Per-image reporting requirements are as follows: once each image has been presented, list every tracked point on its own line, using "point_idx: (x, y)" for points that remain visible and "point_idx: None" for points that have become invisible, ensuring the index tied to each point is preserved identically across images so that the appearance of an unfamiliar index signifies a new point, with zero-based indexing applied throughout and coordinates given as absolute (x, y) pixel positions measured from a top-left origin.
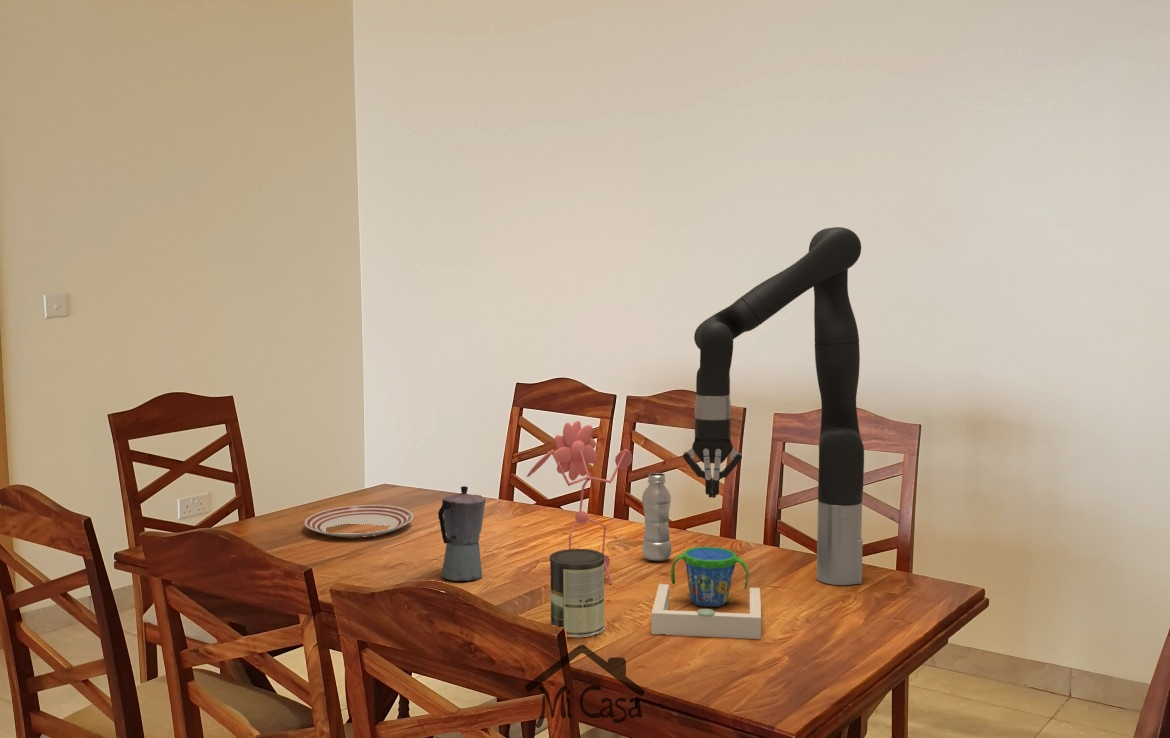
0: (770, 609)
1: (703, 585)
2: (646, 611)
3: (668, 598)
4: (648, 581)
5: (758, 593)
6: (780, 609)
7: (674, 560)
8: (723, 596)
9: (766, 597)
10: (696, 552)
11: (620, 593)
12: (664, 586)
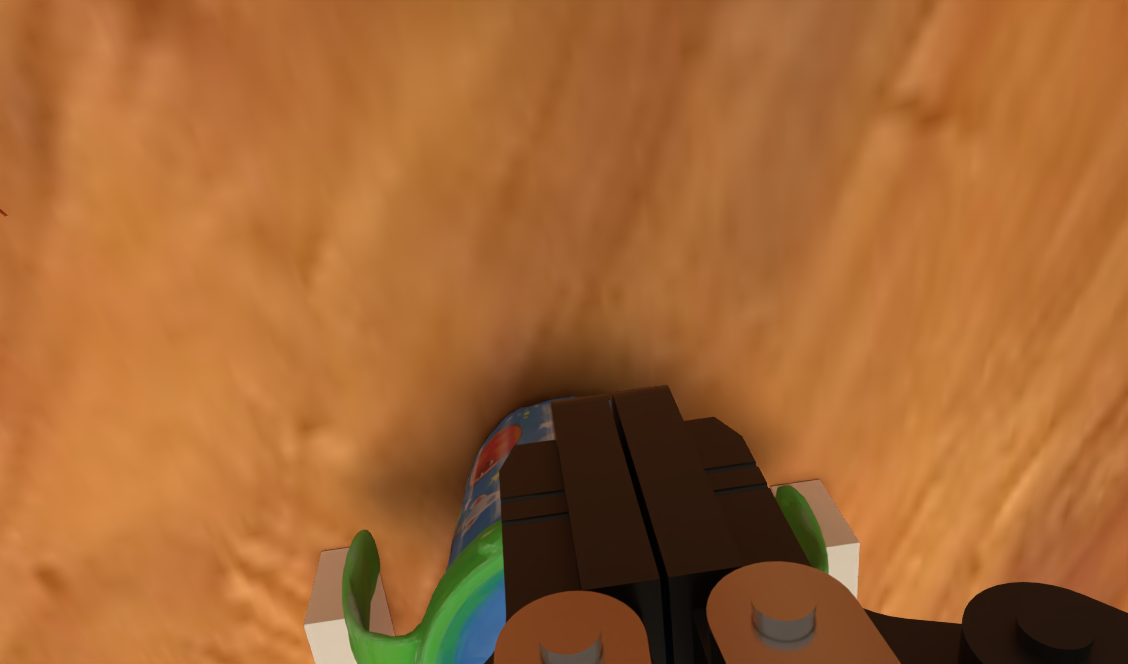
0: (869, 487)
1: None
2: (299, 656)
3: (377, 607)
4: (113, 206)
5: None
6: (916, 475)
7: (359, 660)
8: None
9: (861, 322)
10: (497, 624)
11: (54, 464)
12: (346, 651)
